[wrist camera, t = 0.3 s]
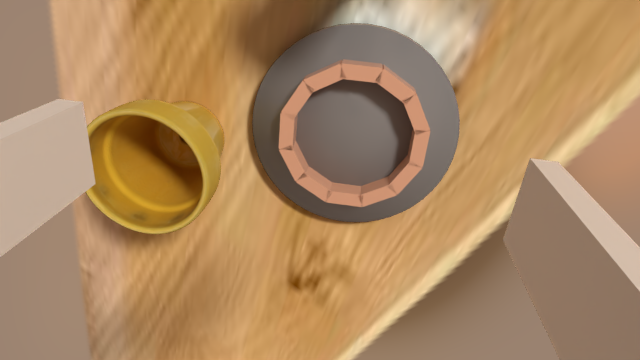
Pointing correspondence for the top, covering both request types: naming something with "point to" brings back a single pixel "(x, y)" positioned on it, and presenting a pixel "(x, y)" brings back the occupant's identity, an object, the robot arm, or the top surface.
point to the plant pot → (155, 163)
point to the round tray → (356, 122)
